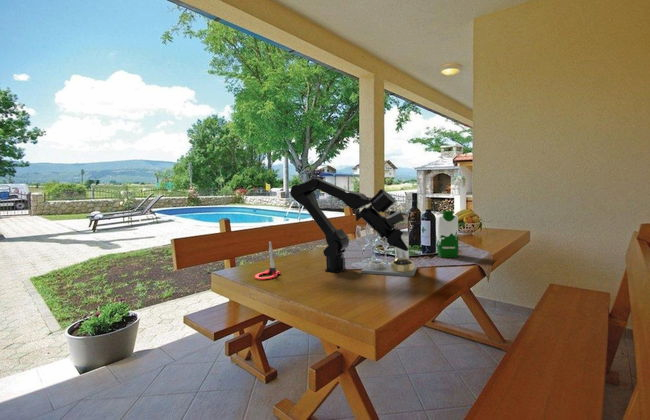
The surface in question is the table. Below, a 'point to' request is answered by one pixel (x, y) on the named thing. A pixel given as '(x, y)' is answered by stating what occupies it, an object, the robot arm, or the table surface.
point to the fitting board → (387, 271)
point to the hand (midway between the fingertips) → (405, 248)
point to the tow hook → (271, 269)
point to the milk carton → (447, 234)
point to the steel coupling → (403, 251)
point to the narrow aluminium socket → (376, 265)
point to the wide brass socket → (402, 267)
